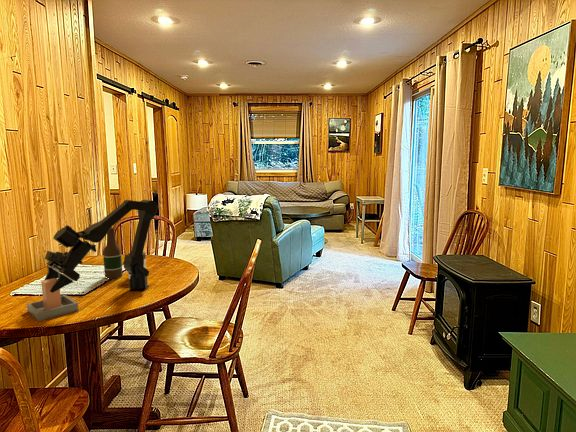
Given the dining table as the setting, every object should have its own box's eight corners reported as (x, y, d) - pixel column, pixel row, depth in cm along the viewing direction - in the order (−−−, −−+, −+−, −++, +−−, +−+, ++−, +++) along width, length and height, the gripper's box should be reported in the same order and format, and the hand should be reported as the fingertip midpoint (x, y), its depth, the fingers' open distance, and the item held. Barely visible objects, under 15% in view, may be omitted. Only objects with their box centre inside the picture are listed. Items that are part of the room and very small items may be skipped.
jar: (141, 274, 195) (140, 250, 193) (151, 277, 189) (149, 252, 188) (124, 278, 188) (122, 253, 186) (133, 281, 183) (131, 256, 181)
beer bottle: (126, 275, 193) (123, 226, 189) (114, 280, 185) (110, 229, 182) (113, 274, 195) (109, 226, 191) (101, 278, 188) (97, 228, 184)
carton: (57, 305, 152) (54, 278, 150) (61, 308, 148) (59, 280, 147) (43, 309, 148) (41, 280, 147) (47, 312, 145) (45, 283, 143)
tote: (65, 302, 158) (65, 294, 157) (78, 310, 149) (77, 303, 148) (27, 311, 148) (26, 303, 148) (38, 321, 139) (37, 313, 139)
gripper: (50, 239, 154) (20, 272, 147) (67, 246, 141) (35, 283, 135) (73, 255, 161) (45, 287, 154) (92, 263, 148) (62, 299, 142)
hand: (46, 289), depth 146 cm, fingers open, 9 cm apart
